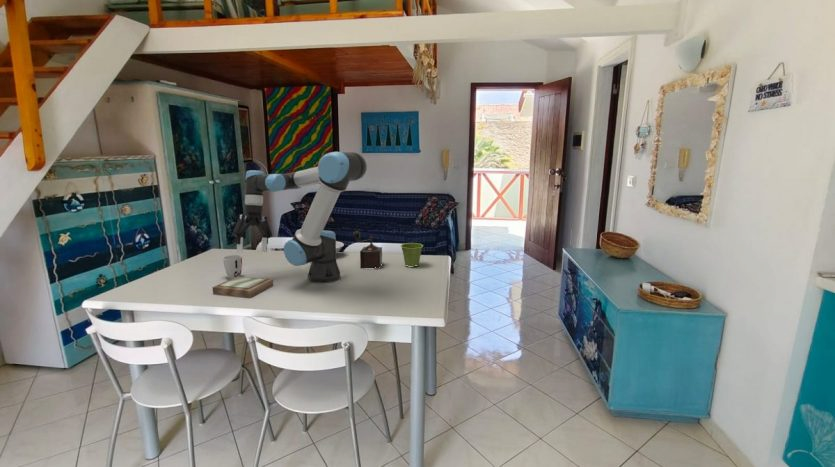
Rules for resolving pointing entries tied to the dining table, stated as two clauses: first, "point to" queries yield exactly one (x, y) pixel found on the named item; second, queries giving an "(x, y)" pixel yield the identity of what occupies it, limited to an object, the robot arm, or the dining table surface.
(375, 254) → the manual coffee grinder
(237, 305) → the dining table surface
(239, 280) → the wooden tray
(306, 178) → the robot arm
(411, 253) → the plant pot
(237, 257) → the cup
